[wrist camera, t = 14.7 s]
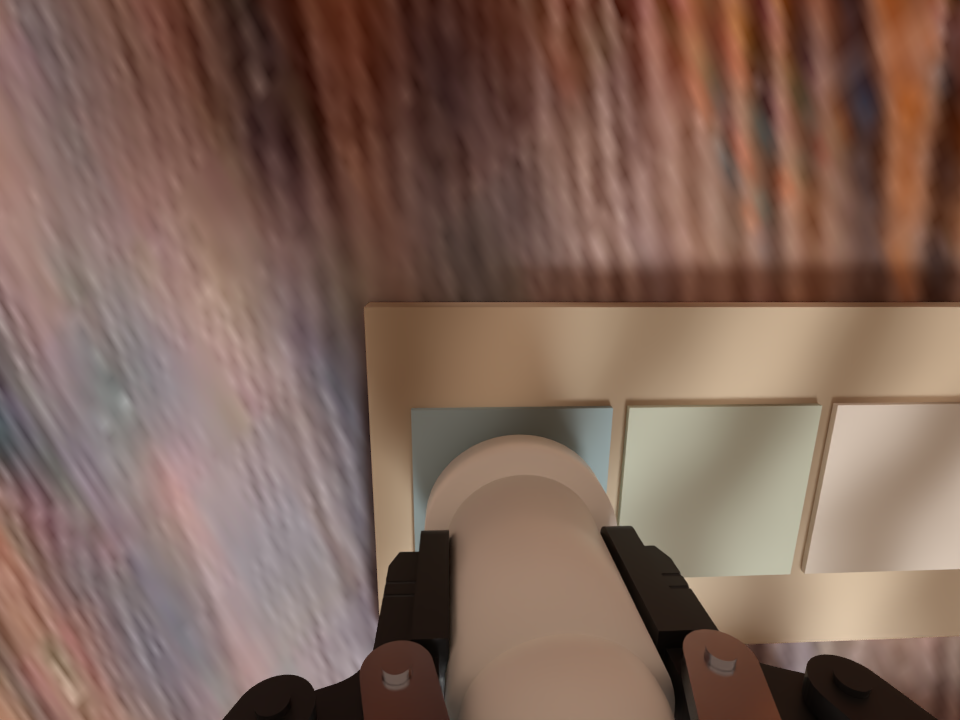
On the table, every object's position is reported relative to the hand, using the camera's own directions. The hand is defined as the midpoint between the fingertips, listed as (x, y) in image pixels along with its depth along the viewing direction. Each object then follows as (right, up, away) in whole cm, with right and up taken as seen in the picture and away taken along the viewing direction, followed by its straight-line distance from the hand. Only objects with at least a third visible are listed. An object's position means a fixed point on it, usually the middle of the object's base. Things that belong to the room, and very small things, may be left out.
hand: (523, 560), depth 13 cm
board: (+10, +1, +5) cm, 11 cm away
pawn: (0, 0, +2) cm, 2 cm away
